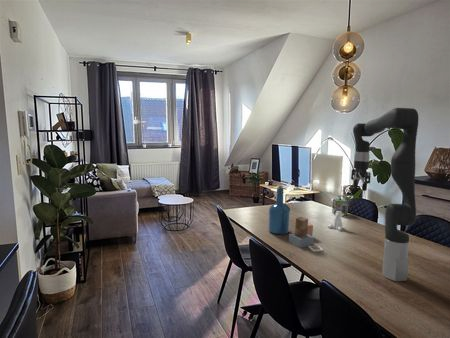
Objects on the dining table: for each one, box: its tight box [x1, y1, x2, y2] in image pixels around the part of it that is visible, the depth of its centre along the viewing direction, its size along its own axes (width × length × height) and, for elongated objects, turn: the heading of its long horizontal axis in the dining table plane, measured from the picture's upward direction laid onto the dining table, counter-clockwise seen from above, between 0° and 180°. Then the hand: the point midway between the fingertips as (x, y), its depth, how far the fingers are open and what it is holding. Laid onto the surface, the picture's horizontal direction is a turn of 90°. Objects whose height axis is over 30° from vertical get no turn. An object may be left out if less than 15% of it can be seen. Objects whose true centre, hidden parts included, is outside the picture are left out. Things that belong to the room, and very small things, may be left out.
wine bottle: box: [267, 184, 291, 235], centre depth 192 cm, size 14×13×30 cm
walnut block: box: [294, 216, 309, 238], centre depth 173 cm, size 5×5×10 cm
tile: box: [307, 245, 324, 253], centre depth 166 cm, size 6×6×1 cm
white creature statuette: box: [327, 211, 344, 232], centre depth 201 cm, size 10×9×12 cm
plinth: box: [288, 232, 315, 249], centre depth 174 cm, size 10×10×5 cm
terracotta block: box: [307, 222, 314, 236], centre depth 185 cm, size 5×5×8 cm
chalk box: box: [331, 194, 349, 217], centre depth 235 cm, size 9×9×15 cm
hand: (359, 189), depth 168 cm, fingers open, 8 cm apart
